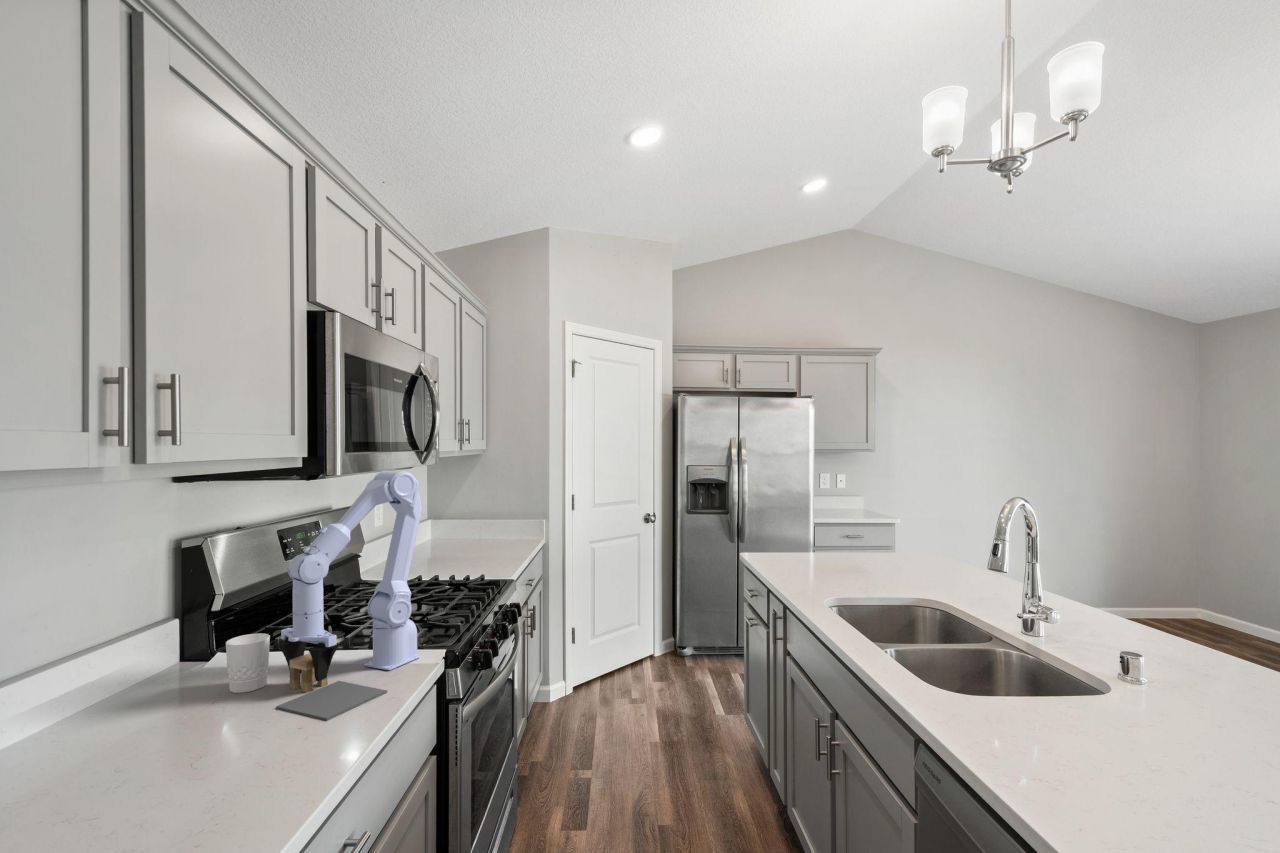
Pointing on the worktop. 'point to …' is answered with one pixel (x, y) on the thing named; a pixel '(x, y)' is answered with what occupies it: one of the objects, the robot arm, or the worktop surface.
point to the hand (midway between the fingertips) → (308, 676)
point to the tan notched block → (304, 673)
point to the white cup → (247, 662)
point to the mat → (331, 700)
